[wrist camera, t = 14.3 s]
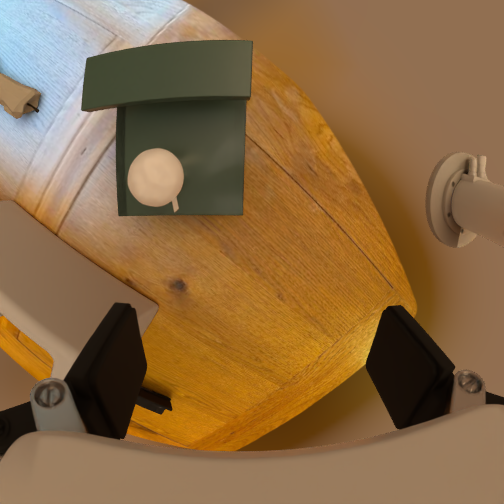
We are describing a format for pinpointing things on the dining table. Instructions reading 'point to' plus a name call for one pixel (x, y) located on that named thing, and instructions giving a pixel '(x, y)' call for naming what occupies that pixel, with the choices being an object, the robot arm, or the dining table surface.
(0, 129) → the dining table surface
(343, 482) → the robot arm
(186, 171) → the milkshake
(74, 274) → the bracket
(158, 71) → the shelf unit
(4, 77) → the butternut squash
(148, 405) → the handheld gaming console
